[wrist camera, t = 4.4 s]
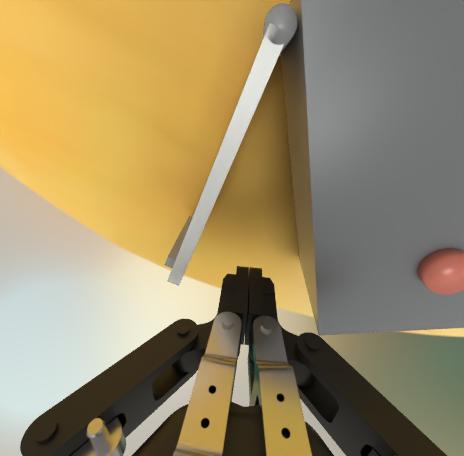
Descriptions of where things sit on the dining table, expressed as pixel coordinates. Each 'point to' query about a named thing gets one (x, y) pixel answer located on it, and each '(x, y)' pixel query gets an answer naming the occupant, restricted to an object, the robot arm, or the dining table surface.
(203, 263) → the dining table surface
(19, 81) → the dining table surface
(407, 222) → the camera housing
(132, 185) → the dining table surface
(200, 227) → the side door
